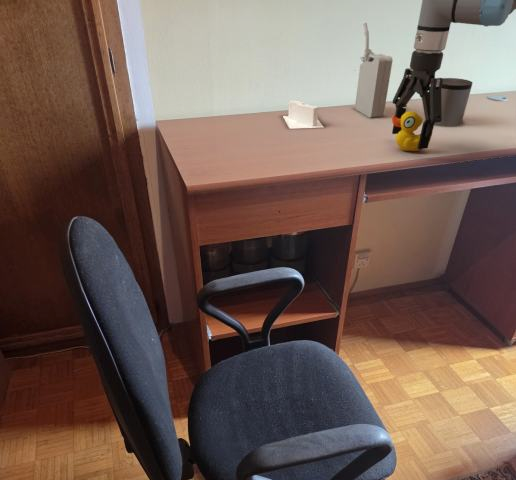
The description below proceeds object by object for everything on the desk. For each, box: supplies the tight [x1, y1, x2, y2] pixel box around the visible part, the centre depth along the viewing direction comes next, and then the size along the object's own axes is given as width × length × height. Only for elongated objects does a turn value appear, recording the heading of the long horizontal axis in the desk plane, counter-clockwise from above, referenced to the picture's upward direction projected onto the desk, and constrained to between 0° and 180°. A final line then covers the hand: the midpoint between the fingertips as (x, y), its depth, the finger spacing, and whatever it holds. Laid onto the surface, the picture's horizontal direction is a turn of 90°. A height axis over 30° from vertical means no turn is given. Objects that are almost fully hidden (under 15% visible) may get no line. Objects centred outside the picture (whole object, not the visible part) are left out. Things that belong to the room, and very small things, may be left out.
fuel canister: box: [354, 22, 394, 119], centre depth 150 cm, size 15×5×25 cm, turn 16°
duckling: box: [391, 110, 433, 152], centre depth 124 cm, size 11×5×10 cm, turn 75°
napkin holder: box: [282, 99, 324, 130], centre depth 147 cm, size 15×11×6 cm
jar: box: [434, 77, 473, 127], centre depth 145 cm, size 11×11×12 cm
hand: (409, 140), depth 125 cm, fingers open, 13 cm apart
